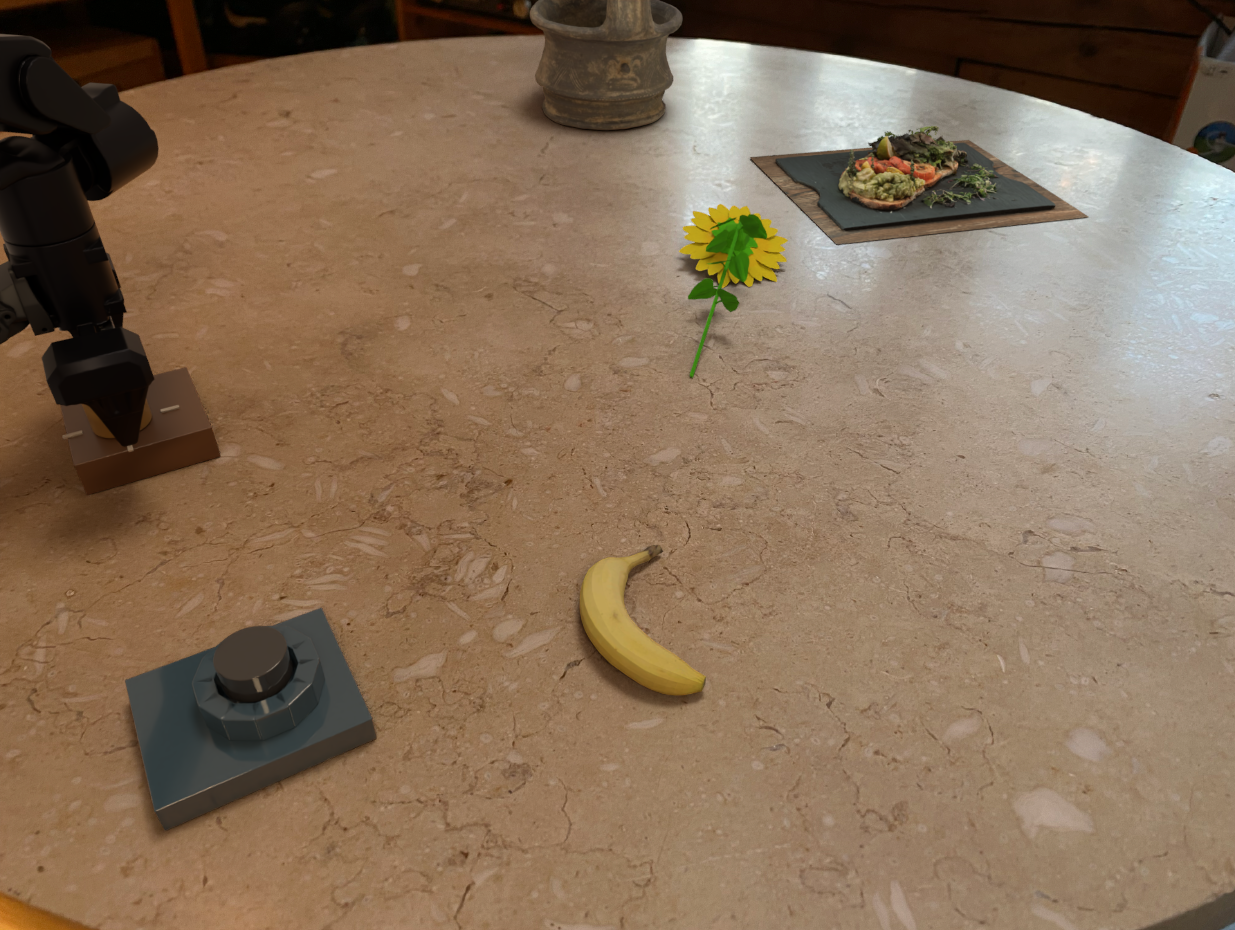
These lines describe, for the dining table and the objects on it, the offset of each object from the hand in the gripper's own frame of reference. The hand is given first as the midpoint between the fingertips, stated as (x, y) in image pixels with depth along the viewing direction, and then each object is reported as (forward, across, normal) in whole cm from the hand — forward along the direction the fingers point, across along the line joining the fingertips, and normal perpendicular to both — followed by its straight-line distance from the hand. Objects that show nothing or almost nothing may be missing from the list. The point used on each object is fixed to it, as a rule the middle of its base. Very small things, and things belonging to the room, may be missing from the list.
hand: (120, 413), depth 74 cm
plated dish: (+4, -11, +97) cm, 98 cm away
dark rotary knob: (0, +31, +3) cm, 31 cm away
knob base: (+4, +31, +2) cm, 31 cm away
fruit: (+4, +36, +26) cm, 45 cm away
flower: (+4, +2, +58) cm, 58 cm away
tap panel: (+4, -1, +1) cm, 4 cm away
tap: (+1, 0, 0) cm, 1 cm away
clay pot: (+4, -55, +76) cm, 94 cm away
